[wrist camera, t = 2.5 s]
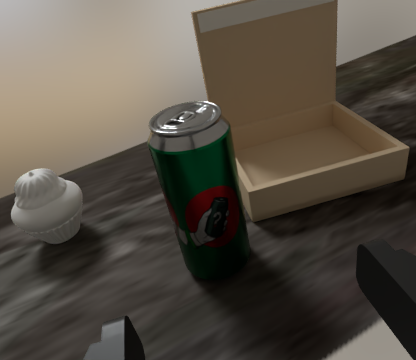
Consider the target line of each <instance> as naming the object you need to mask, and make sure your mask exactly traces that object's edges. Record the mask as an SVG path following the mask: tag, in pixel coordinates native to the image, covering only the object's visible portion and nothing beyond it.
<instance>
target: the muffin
mask: <svg viewBox="0 0 416 360" xmlns="http://www.w3.org/2000/svg"><path fill="white" fill-rule="evenodd" d="M14 191H15V192H16V195H17V196H16V198H15V204H14V206H13V209H12V212H11V218H12V221H13V223H14V224H15V225H16V226H17V227H18V228H20V229H22V230H24V232H26V233H27V234H29V235H31V236H34V237H36V238H38V239H40V240H43V241H45V242H47V243H50V244H59V243H62V242H65V241H68V240H69V239H71V238H72V237H73V236H75V234H77V232H78V231H79V229H80V224H81V216H82V208H83V204H82V203H83V201H82V192H81V189H80V188H79V186H78V185H77V184H75V183H73V182H71V181H67V180H64V179H63V178H60V177H57V175H56V174H55V173H54V171H52V170H50V169H44V168H39V169H34V170H32V171H29V172H28V173H25V174H24V175H23V176H21V177H20V178H19V179H18V180H17V181H16V183H15V187H14Z"/></svg>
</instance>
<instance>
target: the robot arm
mask: <svg viewBox="0 0 416 360" xmlns="http://www.w3.org/2000/svg"><path fill="white" fill-rule="evenodd" d="M356 278H357V281H358V284H359V286H360V288H361V290H362V292H363V293H364V295H365V296H366V297H367V299H368V300H369V301H370V303H371V304H372V305H373V307H374V308H375V309H376V311H377V312H378V313H379V315H380V316H381V317H382V319H383V320H384V321H385V323H386V324H387V325H388V327H389V328H390V329H391V330H392V332H393V333H394V335H395V336H396V337H397V338H398V340H399V341H400V343H401V344H402V345H403V347H404V348H405V349H406V350H407V352H408V353H409V354H410V356H411V357H412V358H413V360H416V256H415V255H413V254H411V253H409V252H407V251H405V250H403V249H400V250H397V251H395V250H394V249H393V248H392V247H391V246H390V245H389V244H388V243H387V242H386V241H385V240H383V239H376V240H373V241H370V242H366V243H363V244H360V245H359V246H358V248H357V266H356ZM84 360H145V354H144V349H143V346H142V343H141V340H140V338H139V336H138V335H137V333H136V331H135V329H134V327H133V325H132V323H131V321H130V319H129V317H128V316H123V317H119V318H116V319H113V320H110V321H106V322H104V323H103V326H102V337H101V342H98V343H95V344H92V345H90V347H89V349H88V351H87V353H86V355H85V357H84Z"/></svg>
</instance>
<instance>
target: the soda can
mask: <svg viewBox="0 0 416 360" xmlns="http://www.w3.org/2000/svg"><path fill="white" fill-rule="evenodd" d="M149 129H150V130H151V131H150V135H149V138H148V142H147V143H148V147H149V150H150V153H151V156H152V159H153V163H154V166H155V169H156V172H157V175H158V178H159V182H160V185H161V188H162V191H163V194H164V198H165V201H166V204H167V207H168V210H169V213H170V217H171V220H172V223H173V226H174V229H175V233H176V236H177V239H178V242H179V245H180V248H181V252H182V255H183V258H184V261H185V264H186V267H187V268H188V270H189V271H190V272H191V273H192V274H194V275H195V276H197V277H200V278H203V279H207V280H221V279H225V278H228V277H230V276H232V275H234V274H236V273H237V272H238V271H240V270H241V269H242V268H243V267H244V266H245V264H246V263H247V261H248V259H249V256H250V245H249V239H248V233H247V226H246V220H245V214H244V207H243V201H242V195H241V189H240V182H239V176H238V170H237V164H236V157H235V151H234V145H233V138H232V132H231V126H230V123H229V121H228V120H227V119H226V118H225V117H224V116H223V115H222V110H221V108H220V107H219V106H218V105H217V104H215V103H212V102H206V101H195V102H187V103H182V104H178V105H175V106H172V107H169V108H166V109H164V110H162V111H160V112H159V113H157V114H156V115H155V116H153V117H152V119H151V120H150V122H149Z"/></svg>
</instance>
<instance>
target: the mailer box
mask: <svg viewBox="0 0 416 360" xmlns="http://www.w3.org/2000/svg"><path fill="white" fill-rule="evenodd" d="M191 14H192V20H193V25H194V30H195V35H196V41H197V46H198V51H199V56H200V62H201V67H202V72H203V77H204V83H205V88H206V93H207V98H208V102H212V103H215V104H217V105H218V106H219V107H220V108H221V110H222V115H223V116H224V117H225V118H226V119H227V120H228V121H229V123H230V126H231V132H232V138H233V145H234V151H235V157H236V164H237V170H238V176H239V182H240V189H241V195H242V201H243V204H244V206H245V208H246V210H247V212H248V214H249V216H250V218H251V220H252V222H256V221H260V220H263V219H267V218H270V217H274V216H277V215H281V214H284V213H288V212H291V211H295V210H298V209H302V208H305V207H309V206H312V205H316V204H319V203H323V202H326V201H330V200H333V199H337V198H340V197H344V196H347V195H351V194H354V193H358V192H361V191H365V190H368V189H372V188H375V187H379V186H382V185H386V184H389V183H393V182H396V181H400V180H403V179H405V173H406V167H407V160H408V154H409V148H410V147H408V146H406V145H405V144H403V143H402V142H400V141H398V140H397V139H395V138H394V137H392V136H391V135H389V134H387V133H386V132H384V131H383V130H381V129H379V128H378V127H376V126H375V125H373V124H371V123H370V122H368V121H367V120H365V119H364V118H362V117H360V116H359V115H357V114H356V113H354V112H352V111H351V110H349V109H348V108H346V107H344V106H343V105H341V104H340V103H338V102H337V101H335V90H336V45H337V44H336V43H337V0H240V1H237V2H232V3H228V4H223V5H219V6H215V7H211V8H206V9H202V10H198V11H193V12H191Z"/></svg>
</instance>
